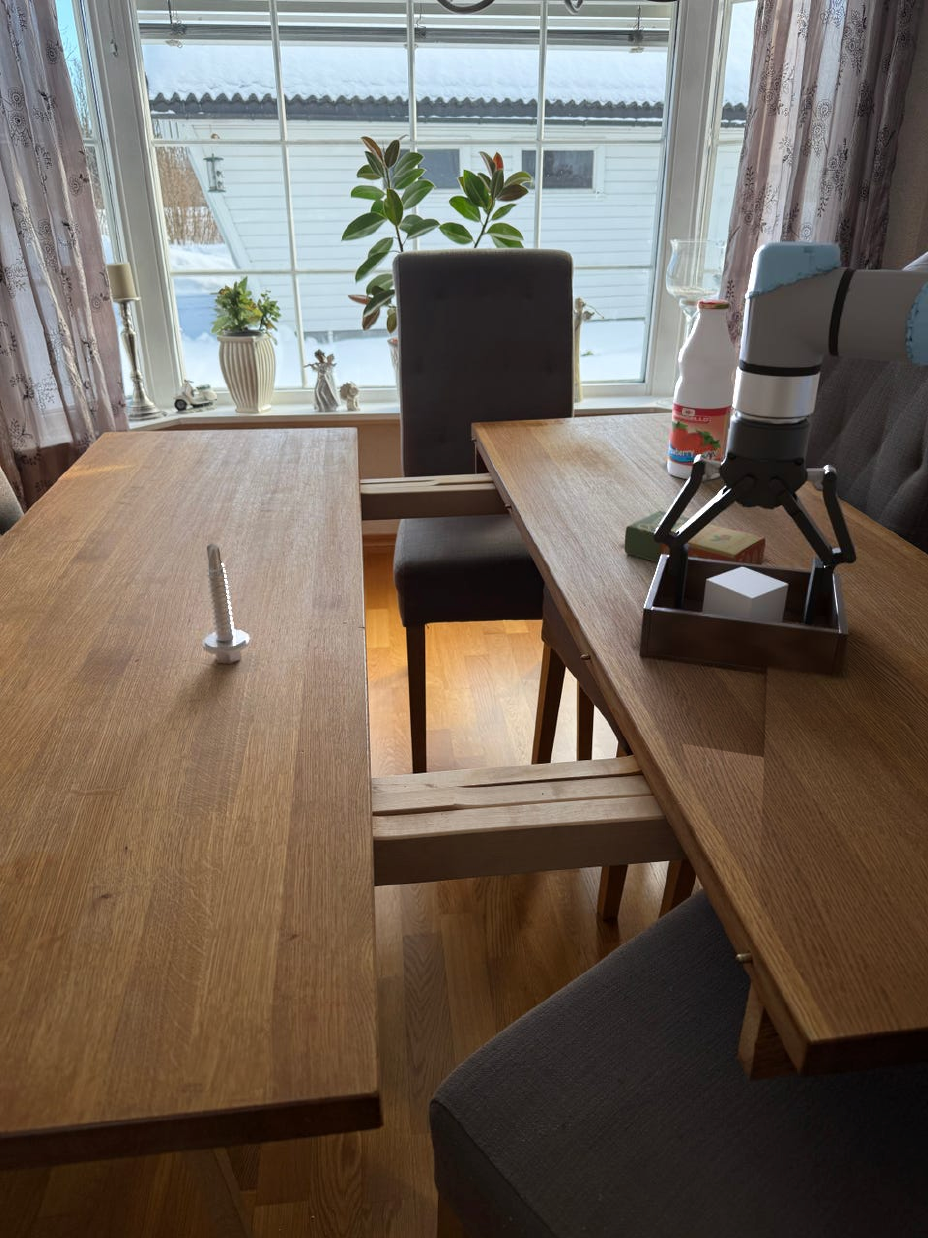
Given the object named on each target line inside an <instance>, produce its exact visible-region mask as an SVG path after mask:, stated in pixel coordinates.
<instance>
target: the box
mask: <svg viewBox="0 0 928 1238" xmlns="http://www.w3.org/2000/svg"><path fill="white" fill-rule="evenodd" d="M668 561H669V555H665V554H662V555H661V558H660V561H659V563H658V564H657V567H656V570H655V573H654V576H653V579H652V582H651V585H650V588H649V591H648V594H647V597H646V599H645V603H644V606H643V609H642V619H641V630H640V631H641V632H640V642H639V652H638V653H639V654H638V657H640V658H641V657H642V658H648V659H655V660H662V661H668V662H669V661H670V662H677V663H684V664H692V665H697V666H704V667H705V666H706V667H713V668H718V669H719V668H720V669H727V670H733V671H739V672H740V671H741V672H747V673H754V674H755V673H756V674H761V675H768V667H769V668H770V667H771V668H778V669H784V670H790V671H791V670H793V671H799V672H805V673H814V674H819V675H826V676H827V675H828V676H836V677H841V673H842V669H843V664H844V658H845V655H846V651H847V643H848V639H849V627H848V621H847V620H848V619H847V614H846V613H847V612H846V607H845V598H844V592H843V585H842V577H841V573H839V572H834V573H833V578H832V583H831V588H830V591H829V593H828V594H827V595H825V594H818V596H817V601H816V606H815V611H814V617H813V622H812V625H804V610H805V604H806V599H807V594H808V588H809V583H810V577H811V572H812V569H805V568H795V567H794V568H793V567H784V566H775V565H768V564H767V565H765V564H762V565H758V564H749V563H739V562H730V561H721V560H711V559H702V558H693V557H688V564H687V573H686V581H685V590H684V598H683V603H682V607H681V609H680V608H674V603H675V594H676V586H677V577H672V576H669V575H668V572H667V571H668ZM740 567H745V568H748V569H750V570H753V571H756V572H758V573H761V574H763V575H766V576H769V577H771V578H774V579H776V580H779V581H782V582H784V583H787V584H788V590H787V596H786V602H785V608H784V614H783V619H782V623H779V622H771V621H763V620H755V619H747V618H739V617H731V616H723V615H715V614H707V613H702V610H703V602H704V594H705V586H706V579H709V578H712V577H714V576H717V575H720V574H723V573H726V572H728V571H731V570H734V569H737V568H740ZM784 622H786V623H784ZM787 622H788V623H787ZM794 623H795V624H794ZM796 623H797V624H796ZM802 624H803V625H802ZM818 626H819V627H818ZM825 627H826V628H825Z"/></svg>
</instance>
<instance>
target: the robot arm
mask: <svg viewBox="0 0 928 1238" xmlns="http://www.w3.org/2000/svg"><path fill="white" fill-rule="evenodd" d="M744 296H745V297H744V299H745V305H744V306H745V307H744V315H743V323H742V332H741V340H740V341H741V342H740V350H739V356H738V357H739V358H738V365H737V368H736V376H735V383H734V389H733V399H732V408H733V409H734V410H735V411H736V412H735V413H733V415H732V416H730V422H729V430H728V438H727V446H726V454H725V458H724V459H723V461H722V462H721V461H715V460H710V459H706V457H705V456H704V455H698V456H696V458H695V460H694V463H693V467H692V471H691V476H690V478H689V479H687V480H686V482H685V483H684V485H683V486H682V488H681V490H679V493H678V495H677V496H676V497H675V499H674V500H673V502H672V504H671V505H670V507H669V508H668V509H667V511H666V514H665V516H664V517H663V519H662V520H661V522H660V523H659V525H658V527H657V529H656V531H655V534H654V537H653V538H654V541H655V542H657V543H663V544H665V545H667V546H668V548H669V551H670V552H669V561H668V571H667V572H668V575H669V576H672V577H677V586H676V594H675V603H674V608H680V609H681V607H682V603H683V598H684V590H685V581H686V573H687V564H688V556H689V547H690V544H686V543H687V542H688V541H690V540H691V539H692V538H693V537H694V536H695V535H696V534H697V533H699V532H700V531H701V530H702V529H703V528H704V527H705V526H706V525H708V524H709V523H710V524H711V522H712V521H713V520H715V519H716V518H717V517H718V516H719V515H720V514H721V513H723V512H724V511H726V510H727V509H729V507H731V506H732V505H733V504H734V503H737V504H739V505H741V507H742V508H755V507H759V508H761V509H764V510H775V509H776V508H779V507H782V508H783V509H784V511H785V512H786V514H787V515H788V516H789V517H790V518H791V519H792V521H793V522H794V524H795V525H796V526H797V528H798V530H799V531H800V532H801V534H802V535H803V537H804V538H805V539H806V541H807V543H808V544H809V546H810V547H811V548H812V550H813V551H814V553H815V554H816V555H817V557H813V562H812V566H811V570H812V572H811V577H810V583H809V588H808V594H807V599H806V604H805V610H804V624H803V626H813V625H812V622H813V617H814V611H815V606H816V601H817V596H818V594H825V595H827V594H828V593H829V591H830V588H831V583H832V578H833V573H835V569H836V567H837V566H838V565H841V564H845V563H846V564H853V563H855V562H856V561H857V553H856V547H855V544H854V542H853V538H852V536H851V533H850V530H849V526H848V523H847V520H846V517H845V514H844V510H843V507H842V505H841V502H840V499H839V497H838V494H837V482H838V477H837V470H836V467H835V465H833V464H827V465H825V466H824V467H821V468H820V467H819V468H813V467H812V468H808V467H807V464H806V458H807V452H808V446H809V440H810V435H811V434H810V433H811V428H812V421H811V420H810V418H809V417H808V416H810V415H811V414H813V413H814V410H815V407H816V400H817V393H818V388H819V381H820V375H821V369H822V362H823V358H824V356H831V357H835V358H837V357H838V358H839V357H845V358H854V359H855V358H856V359H865V360H875V361H885V362H895V363H904V364H905V363H906V364H916V366H917V367H925V366H926V367H927V366H928V251H926V252H925V253H924V254H923V255H921V256H919V257H918V258H917V259H915V260H914V261H912V262H910V263H909V264H908V265H906V266H905V267H903V268H902V269H900V270H899V269H858V268H850V267H846V266H842V261H841V249H840V247H839V246H838V244H835V243H831V242H817V241H774V242H773V241H771V242H768V243H763V245H761V246H760V247H759V248H758V249H757V250H756V252H755V254H754V255H753V261H752V266H751V272H750V277H749V282H748V287H747V292H746V293H745V295H744ZM715 473H719V475H720V476H719V478H720V479H721V480H722V481H723V483H724V485H725V486H723V488H722V489H721V490H720V491H719V492H718V493H717V494H716V495H715V496H714V497H713V498H712V499H710V500H709V501H708V502H707V503H706V504H705V505H704V506H703V507H702V508H701V509H699V511H697V512H696V513H695V514H694V515H693V516H692V517H691V518H690V520H689V521H688V522H686V523H685V524H684V525H683V526H682V527H681V528H680V529H679V530H678V531H677V532H674V531H671V529H672V528H673V526H674V525H675V523H676V522H677V520H678V519H679V517H680V516H682V515H683V513H684V511H685V510H686V509H687V507H688V505H689V504H690V502H691V501H692V499H693V498H694V496H695V495H696V493H697V492H698V490H699V488H700V486H701V484H702V482H708V481H710V480H711V479H710V478H711V476H712V475H713V474H715ZM806 482H810V483H812V485H813V488H814V490H815V491H818V492H822V499H823V503H824V506H825V508H826V512H827V515H828V518H829V520H830V523H831V526H832V530H833V532H834V536H835V538H836V541H837V544H838V547H836V548H833V546H832V544H831V543H829V541H828V539H827V538H826V536H825V535H824V534H823V532H822V531H821V529H820V527H819V526H818V525H817V523H816V522H815V520H814V519H813V517H812V516H811V515H810V513H809V511H808V510H807V509H806V507H805V506H804V504H803V503H802V500H801V499H800V496H798V494H797V492H798V491H799V490H800V489H801V488H802V487H803V486H804V485H805V484H806Z"/></svg>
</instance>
